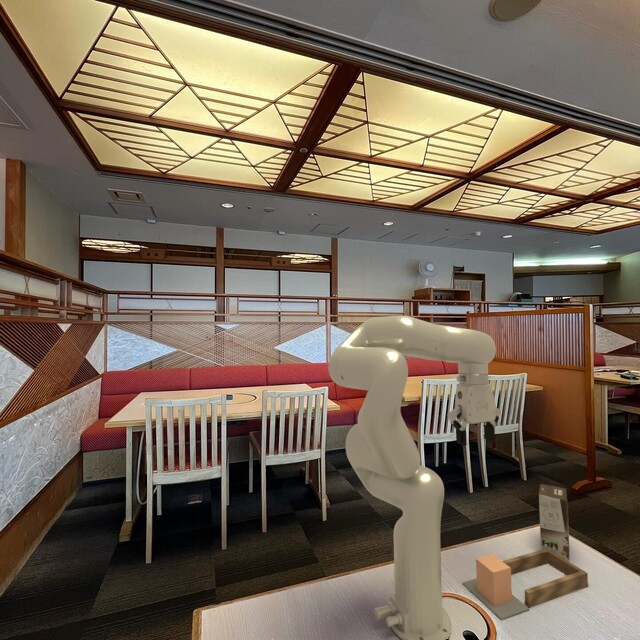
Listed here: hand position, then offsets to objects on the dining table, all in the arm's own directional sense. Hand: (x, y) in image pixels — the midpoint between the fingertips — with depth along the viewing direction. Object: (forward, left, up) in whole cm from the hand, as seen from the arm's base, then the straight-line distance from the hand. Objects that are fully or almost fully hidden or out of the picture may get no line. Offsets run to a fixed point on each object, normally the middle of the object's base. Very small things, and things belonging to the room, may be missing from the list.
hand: (475, 442), depth 91 cm
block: (-7, -12, -30) cm, 33 cm away
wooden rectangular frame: (+6, -12, -30) cm, 33 cm away
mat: (-7, -12, -30) cm, 33 cm away
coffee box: (+22, -5, -31) cm, 38 cm away
